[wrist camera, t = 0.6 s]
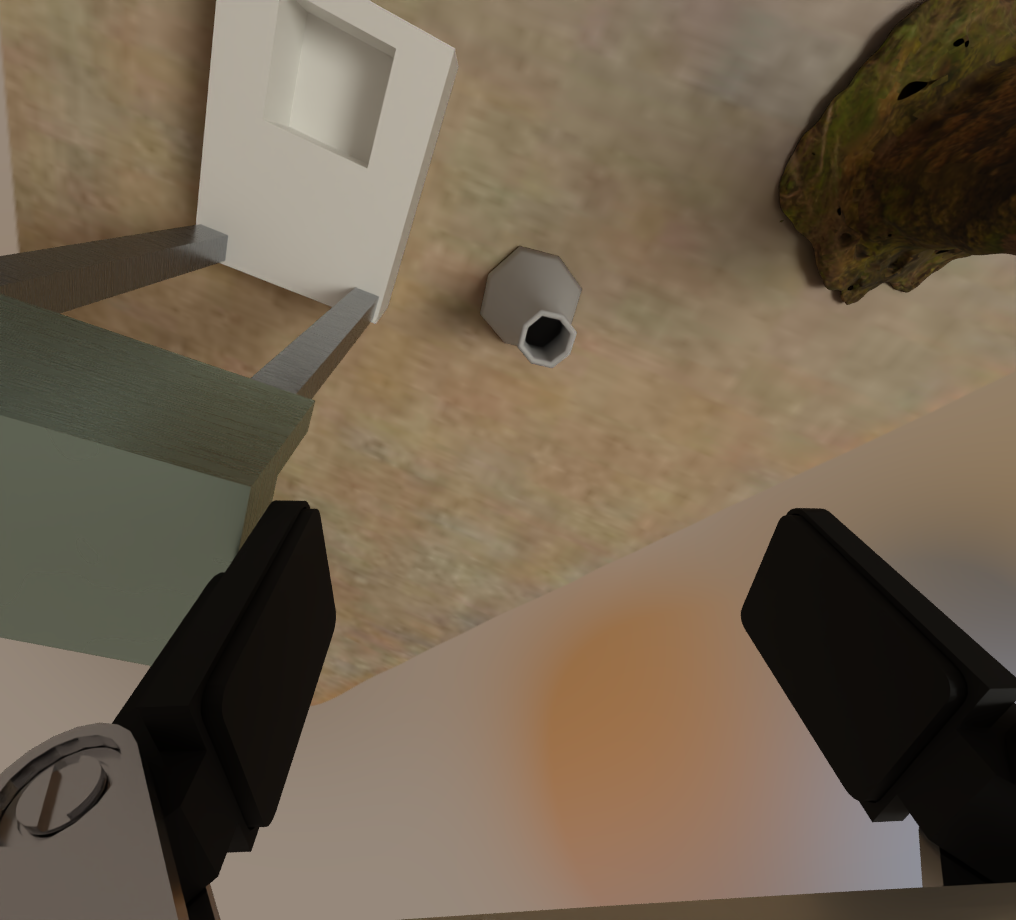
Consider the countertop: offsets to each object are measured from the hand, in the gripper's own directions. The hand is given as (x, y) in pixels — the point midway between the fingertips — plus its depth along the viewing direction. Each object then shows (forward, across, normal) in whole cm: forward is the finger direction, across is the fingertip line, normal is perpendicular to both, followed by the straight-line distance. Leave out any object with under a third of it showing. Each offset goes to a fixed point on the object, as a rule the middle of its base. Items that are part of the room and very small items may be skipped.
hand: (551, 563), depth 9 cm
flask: (+29, -3, 0) cm, 29 cm away
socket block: (+29, +10, -8) cm, 31 cm away
